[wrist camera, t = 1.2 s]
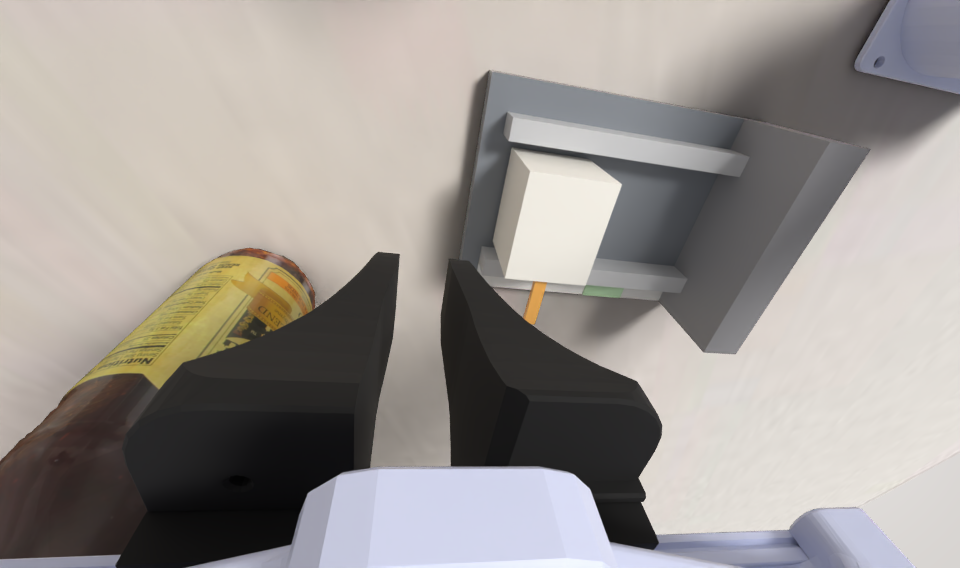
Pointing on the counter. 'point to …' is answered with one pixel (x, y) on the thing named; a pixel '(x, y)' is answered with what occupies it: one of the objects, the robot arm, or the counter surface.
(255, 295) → the sauce bottle
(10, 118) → the counter surface
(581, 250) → the block
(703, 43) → the counter surface
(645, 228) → the board
